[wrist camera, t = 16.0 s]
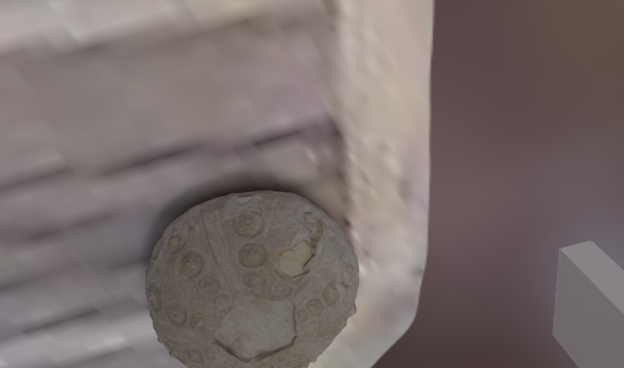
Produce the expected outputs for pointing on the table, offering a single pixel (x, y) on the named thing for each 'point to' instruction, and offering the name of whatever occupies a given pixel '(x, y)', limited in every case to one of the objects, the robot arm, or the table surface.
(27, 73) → the table surface
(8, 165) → the table surface
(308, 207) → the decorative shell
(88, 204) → the table surface
